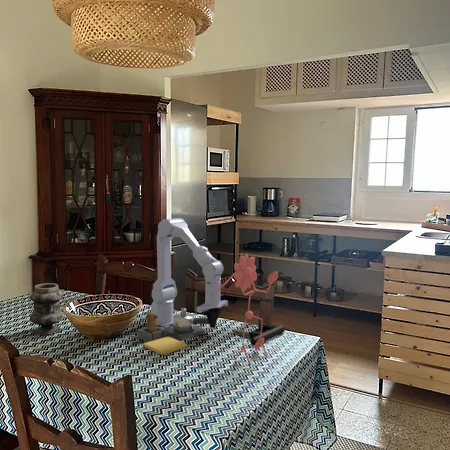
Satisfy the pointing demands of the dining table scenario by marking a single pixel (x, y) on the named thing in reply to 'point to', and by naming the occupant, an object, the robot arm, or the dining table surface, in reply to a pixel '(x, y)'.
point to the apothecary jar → (46, 308)
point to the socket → (151, 334)
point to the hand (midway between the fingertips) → (212, 327)
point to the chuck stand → (184, 333)
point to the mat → (165, 345)
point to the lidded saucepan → (186, 321)
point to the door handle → (270, 333)
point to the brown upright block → (151, 322)
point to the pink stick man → (244, 280)
